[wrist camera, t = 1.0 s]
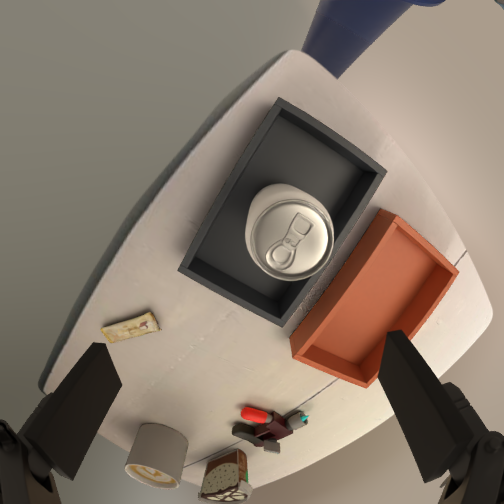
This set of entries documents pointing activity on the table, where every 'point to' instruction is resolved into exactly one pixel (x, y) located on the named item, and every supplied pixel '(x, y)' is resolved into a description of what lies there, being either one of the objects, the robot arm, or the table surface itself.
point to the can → (288, 232)
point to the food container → (226, 480)
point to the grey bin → (285, 172)
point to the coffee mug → (157, 456)
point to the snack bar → (131, 328)
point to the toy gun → (267, 428)
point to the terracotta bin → (373, 301)
